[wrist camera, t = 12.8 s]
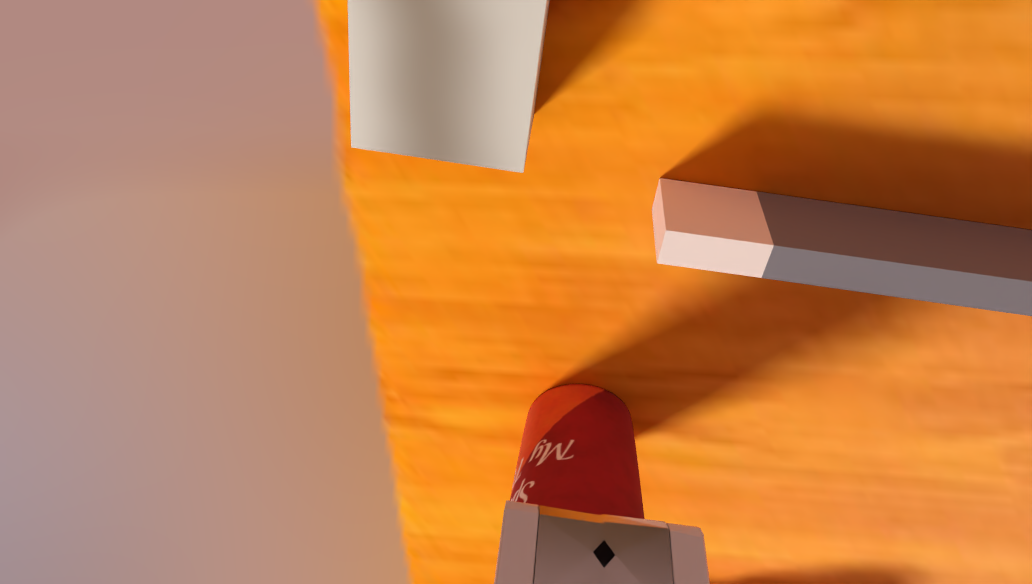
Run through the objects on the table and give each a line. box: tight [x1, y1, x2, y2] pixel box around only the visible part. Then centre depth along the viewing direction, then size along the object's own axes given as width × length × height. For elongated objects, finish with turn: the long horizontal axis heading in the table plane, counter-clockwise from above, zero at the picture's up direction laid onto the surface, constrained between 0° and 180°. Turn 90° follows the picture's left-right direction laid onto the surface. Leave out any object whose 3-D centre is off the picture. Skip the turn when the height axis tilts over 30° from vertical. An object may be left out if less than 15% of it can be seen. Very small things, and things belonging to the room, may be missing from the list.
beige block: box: [348, 0, 550, 173], centre depth 26 cm, size 6×6×5 cm
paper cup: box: [510, 384, 644, 519], centre depth 34 cm, size 8×8×14 cm
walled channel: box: [652, 178, 1032, 316], centre depth 26 cm, size 18×13×4 cm
